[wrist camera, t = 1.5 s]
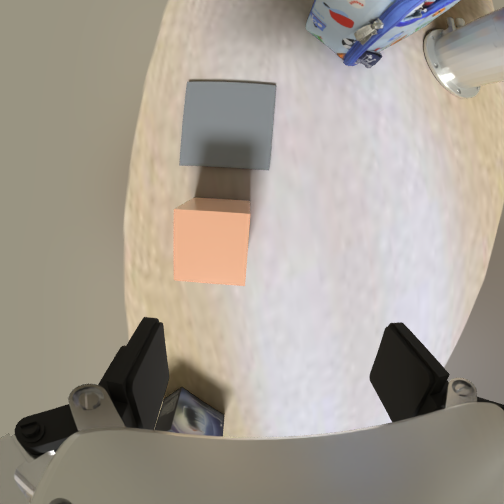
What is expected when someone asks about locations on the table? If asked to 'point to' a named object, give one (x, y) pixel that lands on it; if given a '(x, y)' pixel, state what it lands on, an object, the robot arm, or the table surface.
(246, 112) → the mat
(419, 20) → the lunch box
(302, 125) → the table surface
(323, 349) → the table surface
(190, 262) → the peach rectangular block
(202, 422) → the small box
